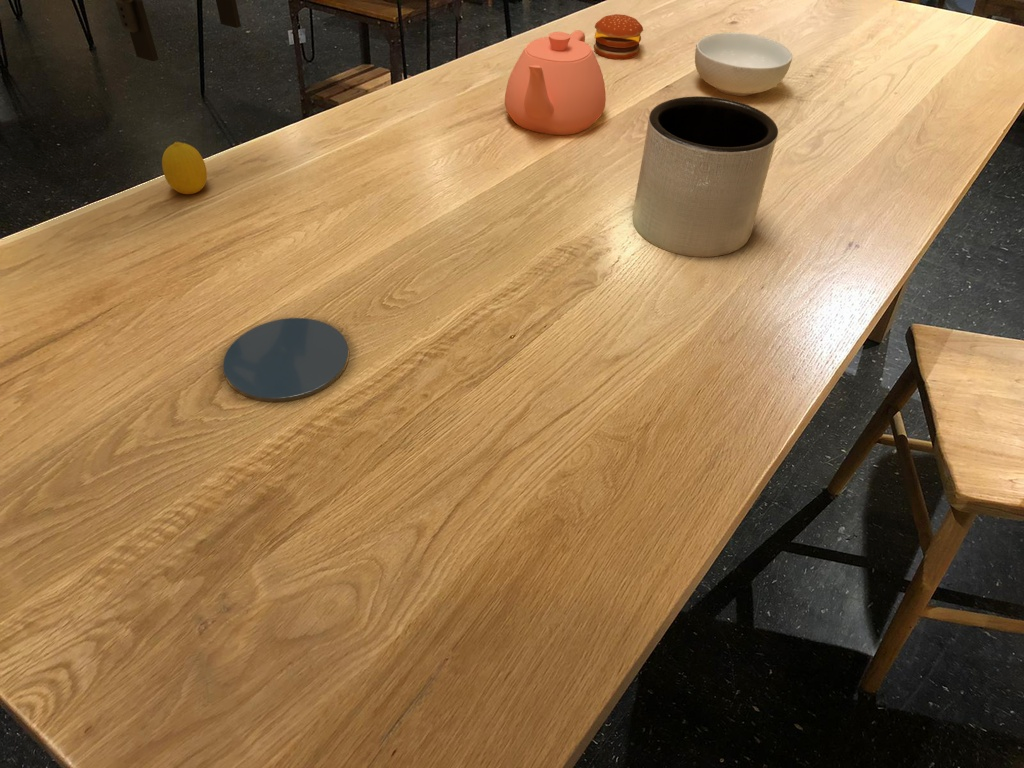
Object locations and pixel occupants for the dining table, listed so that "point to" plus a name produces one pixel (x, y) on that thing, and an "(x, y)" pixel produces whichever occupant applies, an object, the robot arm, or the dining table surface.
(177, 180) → the lemon
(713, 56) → the cereal bowl
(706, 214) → the planter
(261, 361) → the plate
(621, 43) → the hamburger
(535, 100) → the teapot
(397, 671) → the dining table surface
